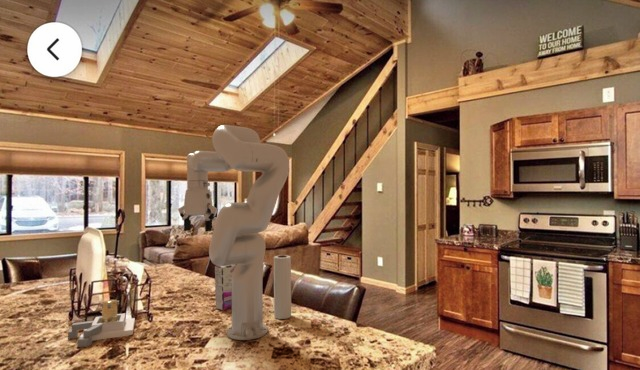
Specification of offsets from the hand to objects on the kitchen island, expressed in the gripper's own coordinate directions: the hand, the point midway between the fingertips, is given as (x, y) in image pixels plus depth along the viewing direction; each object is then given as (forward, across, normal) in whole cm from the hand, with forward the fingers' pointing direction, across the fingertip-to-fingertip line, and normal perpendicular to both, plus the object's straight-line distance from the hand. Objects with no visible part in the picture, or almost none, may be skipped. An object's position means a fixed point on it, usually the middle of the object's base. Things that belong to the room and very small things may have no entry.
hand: (197, 230), depth 139 cm
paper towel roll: (+30, -34, -3) cm, 45 cm away
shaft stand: (+30, +13, +30) cm, 44 cm away
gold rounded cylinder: (+28, +13, +27) cm, 41 cm away
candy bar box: (+30, -9, -7) cm, 32 cm away
